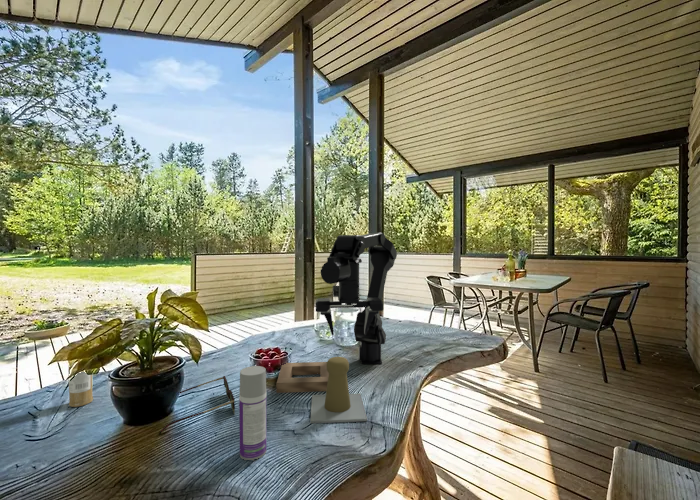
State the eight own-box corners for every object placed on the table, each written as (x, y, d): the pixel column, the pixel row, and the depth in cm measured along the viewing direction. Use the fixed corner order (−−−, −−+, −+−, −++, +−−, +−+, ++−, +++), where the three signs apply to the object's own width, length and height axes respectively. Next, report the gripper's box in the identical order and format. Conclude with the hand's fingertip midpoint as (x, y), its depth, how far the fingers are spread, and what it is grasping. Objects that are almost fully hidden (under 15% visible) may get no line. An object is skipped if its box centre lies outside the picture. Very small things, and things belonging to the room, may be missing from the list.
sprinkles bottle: (95, 397, 82) (94, 342, 82) (90, 405, 78) (89, 347, 78) (71, 400, 80) (70, 344, 80) (65, 409, 76) (64, 350, 76)
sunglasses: (236, 420, 73) (234, 397, 72) (157, 445, 66) (155, 420, 65) (226, 393, 85) (224, 374, 85) (159, 412, 78) (157, 391, 78)
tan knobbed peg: (351, 400, 80) (352, 354, 80) (349, 413, 74) (349, 363, 74) (326, 399, 81) (326, 353, 80) (322, 411, 75) (322, 362, 74)
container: (243, 445, 63) (242, 366, 63) (268, 444, 63) (268, 365, 63) (236, 461, 58) (236, 376, 58) (264, 460, 59) (264, 375, 58)
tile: (360, 395, 84) (360, 393, 84) (367, 421, 72) (367, 418, 72) (312, 397, 83) (312, 395, 83) (310, 423, 71) (310, 421, 71)
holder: (330, 370, 100) (330, 361, 100) (332, 391, 86) (332, 381, 86) (282, 371, 99) (282, 363, 99) (276, 392, 85) (276, 383, 85)
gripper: (377, 276, 103) (376, 326, 104) (315, 276, 102) (316, 328, 102) (383, 280, 92) (383, 337, 93) (315, 281, 91) (315, 338, 91)
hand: (349, 334), depth 95 cm, fingers open, 9 cm apart
